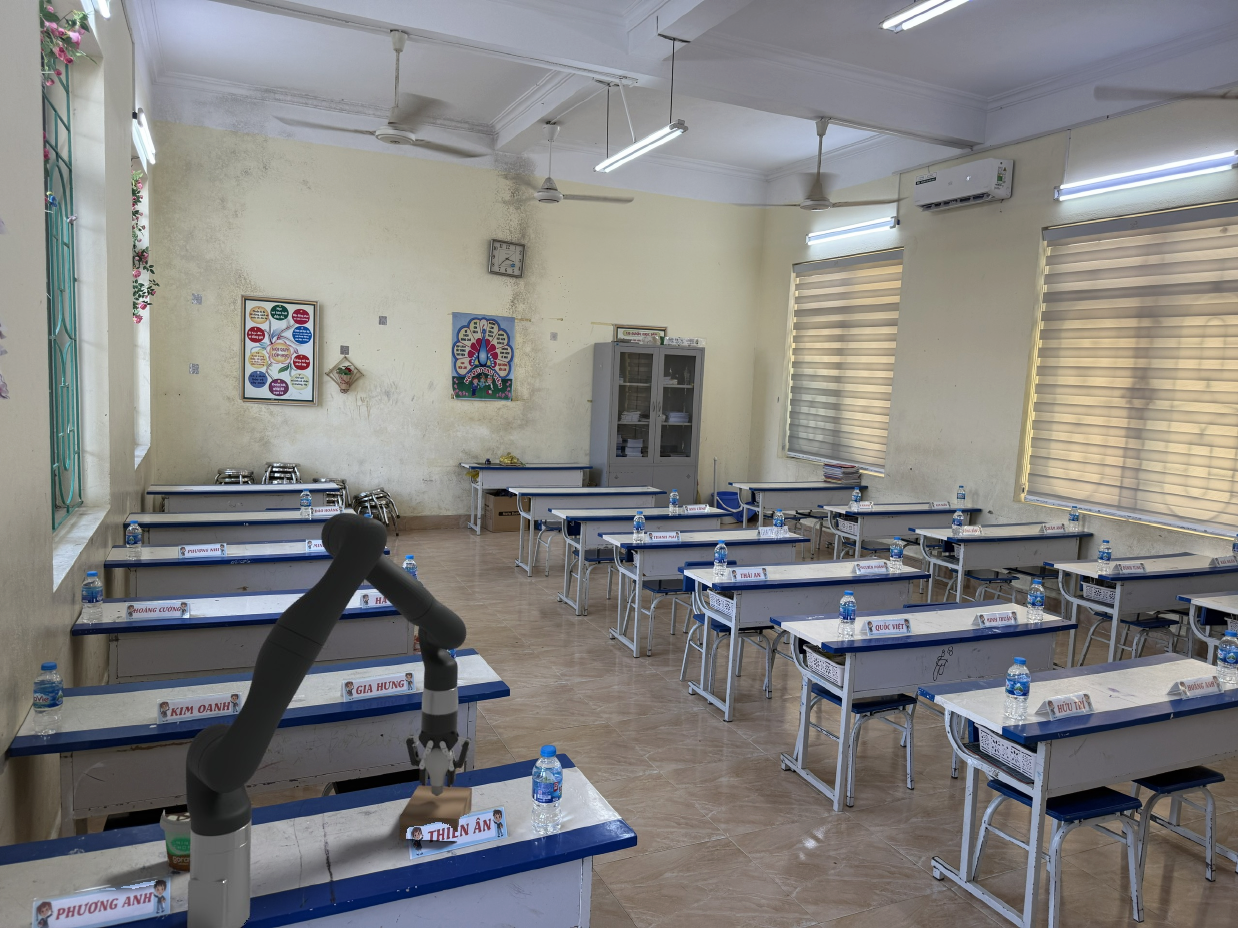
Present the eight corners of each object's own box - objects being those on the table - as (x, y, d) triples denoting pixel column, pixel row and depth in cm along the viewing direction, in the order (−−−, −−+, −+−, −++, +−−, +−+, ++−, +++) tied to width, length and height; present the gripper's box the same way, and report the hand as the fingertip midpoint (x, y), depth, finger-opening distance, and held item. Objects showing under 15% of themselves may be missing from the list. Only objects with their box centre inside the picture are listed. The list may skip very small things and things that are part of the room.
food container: (150, 878, 146) (151, 825, 145) (160, 860, 152) (160, 809, 151) (223, 870, 149) (224, 819, 149) (230, 853, 155) (231, 803, 155)
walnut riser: (457, 842, 162) (457, 818, 162) (399, 839, 163) (399, 815, 163) (471, 809, 176) (471, 787, 176) (418, 806, 177) (418, 785, 176)
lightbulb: (421, 790, 171) (423, 740, 171) (450, 787, 173) (452, 738, 173) (423, 803, 165) (425, 751, 165) (452, 800, 167) (454, 749, 167)
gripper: (401, 711, 165) (398, 791, 166) (469, 714, 165) (466, 794, 165) (411, 699, 172) (409, 775, 173) (476, 702, 172) (474, 778, 173)
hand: (437, 784), depth 169 cm, fingers closed on lightbulb, 4 cm apart
